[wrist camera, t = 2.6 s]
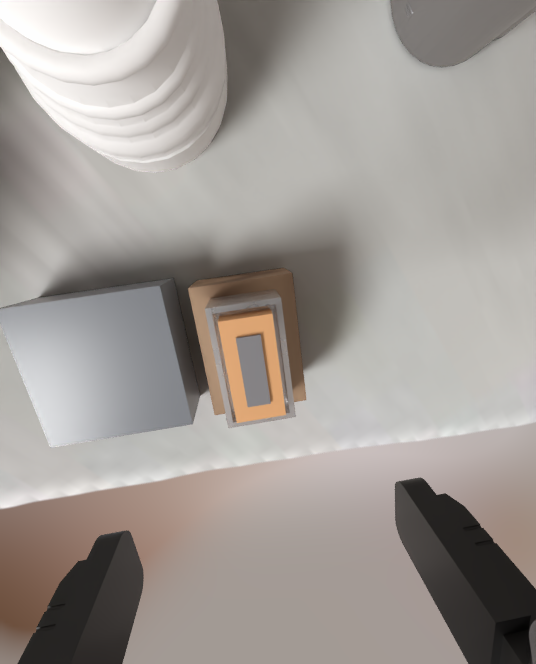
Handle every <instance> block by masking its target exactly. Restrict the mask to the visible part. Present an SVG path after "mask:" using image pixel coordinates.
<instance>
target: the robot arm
mask: <svg viewBox="0 0 536 664" xmlns="http://www.w3.org/2000/svg"><path fill="white" fill-rule="evenodd" d="M391 9H392V17H393V21H394V25H395V28H396V32H397V34H398V36H399V38H400V40H401V42H402V44H403V45H404V46H405V47H406V49H407V50H408V51H409V52H410V54H412V55H413V56H414V57H415V58H417V59H418V60H419V61H421V62H423V63H426V64H428V65H430V66H437V67H447V66H454V65H456V64H459V63H461V62H464V61H466V60H467V59H469V58H470V57H472V56H473V55H475V54H476V53H477V52H479V51H480V50H481V49H482V48H484V47H485V46H486V45H487V44H489V43H490V42H491V41H492V40H494V39H496V38H501V37H503V36H504V35H505V34H506V33H508V32H509V31H510V30H511V29H513V28H514V27H515V26H517V25H518V24H519V23H520V22H522V21H523V20H524V19H525V18H527V17H528V16H529V15H531V14H532V13H533V12H534V11H536V0H391ZM395 520H396V526H397V530H398V533H399V536H400V539H401V541H402V543H403V545H404V547H405V549H406V550H407V552H408V554H409V556H410V558H411V560H412V561H413V563H414V565H415V567H416V569H417V571H418V573H419V574H420V576H421V578H422V580H423V581H424V583H425V585H426V587H427V589H428V591H429V593H430V594H431V596H432V598H433V600H434V602H435V604H436V605H437V607H438V609H439V611H440V613H441V614H442V616H443V618H444V620H445V622H446V623H447V625H448V627H449V629H450V631H451V633H452V635H453V636H454V638H455V640H456V642H457V644H458V646H459V647H460V649H461V651H462V653H463V655H464V656H465V658H466V660H467V662H468V664H536V589H535V588H534V587H533V585H531V583H530V582H529V581H528V580H527V578H526V577H525V576H524V575H523V574H522V573H521V572H520V570H519V569H518V568H517V567H516V566H515V564H514V563H513V562H512V561H511V560H510V559H509V557H508V556H507V555H506V554H505V553H504V552H503V550H502V549H501V548H500V547H499V546H498V545H497V544H496V543H494V542H493V539H492V538H491V537H490V536H489V534H488V533H487V532H486V531H485V530H484V528H481V526H480V524H479V523H478V521H477V520H476V519H475V518H474V517H473V516H472V514H471V513H470V512H469V511H468V510H467V509H466V508H465V507H464V506H463V505H462V504H460V503H459V502H457V501H456V500H454V499H453V498H451V497H450V496H448V495H447V494H440V495H436V494H435V492H434V491H433V490H432V489H431V487H430V486H429V485H428V483H427V482H426V481H425V480H424V479H422V478H415V479H410V480H404V481H399V482H396V484H395ZM142 589H143V568H142V564H141V562H140V559H139V556H138V553H137V550H136V547H135V544H134V541H133V538H132V536H131V533H130V532H129V531H121V532H116V533H111V534H105V535H101V536H99V537H98V538H97V540H96V541H95V543H94V545H93V548H92V550H91V552H90V554H89V556H88V558H87V560H83V561H78V562H77V563H76V565H75V566H74V567H73V568H72V569H71V570H70V572H69V573H68V574H67V575H66V576H65V578H64V579H63V580H62V581H61V582H60V584H59V586H58V588H57V590H56V591H55V593H54V595H53V597H52V599H51V601H50V603H49V605H48V609H47V611H46V612H44V614H43V616H42V618H41V620H40V622H39V624H38V626H37V630H36V633H33V635H32V637H31V639H30V641H29V643H28V645H27V647H26V649H25V651H24V653H23V655H22V656H21V658H20V660H19V662H18V664H122V662H123V659H124V656H125V652H126V648H127V645H128V641H129V637H130V633H131V630H132V626H133V623H134V619H135V616H136V612H137V608H138V605H139V601H140V597H141V593H142Z"/></svg>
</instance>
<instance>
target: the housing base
mask: <svg viewBox="0 0 536 664" xmlns="http://www.w3.org/2000/svg"><path fill="white" fill-rule="evenodd" d="M263 309H271V311H272V314H273V321H274V329H275V336H276V343H277V351H278V358H279V366H280V373H281V381H282V388H283V396H284V403H285V411H286V415H283V416H277V417H271V418H265V419H259V420H253V421H247V422H241V423H237V421H236V416H235V411H234V406H233V400H232V395H231V390H230V385H229V379H228V374H227V369H226V363H225V358H224V353H223V348H222V342H221V337H220V332H219V327H218V319H219V316H224V315H230V314H237V313H243V312H250V311H257V310H263ZM205 313H206V318H207V323H208V328H209V333H210V338H211V343H212V348H213V353H214V358H215V363H216V368H217V373H218V378H219V383H220V388H221V393H222V398H223V403H224V408H225V413H226V418H227V423H228V428H232V427H238V426H244V425H250V424H256V423H262V422H268V421H274V420H280V419H286V418H292V417H296V415H295V407H294V398H293V390H292V382H291V374H290V366H289V358H288V350H287V342H286V334H285V326H284V317H283V309H282V301H281V297H280V295H279V294H278V293H277V291H276V290H275V289H270V290H264V291H257V292H250V293H243V294H237V295H230V296H223V297H217V298H210V300H209V302H208V304H207V305H206V307H205Z"/></svg>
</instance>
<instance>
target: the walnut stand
mask: <svg viewBox="0 0 536 664" xmlns="http://www.w3.org/2000/svg"><path fill="white" fill-rule="evenodd" d="M270 289H275V290H276V291H277V293H278V294H279V295H280V297H281V301H282V309H283V317H284V326H285V334H286V342H287V350H288V358H289V366H290V374H291V382H292V390H293V398H294V402H297V401H303V400H306V392H305V383H304V374H303V365H302V356H301V347H300V338H299V329H298V319H297V310H296V301H295V292H294V283H293V274H292V273H291V272H290V271H288V270H286V269H285V268H279V269H272V270H265V271H258V272H251V273H244V274H237V275H231V276H224V277H217V278H210V279H203V280H197V281H196V282H195V283H193V284H192V285H191V286H190V287H189V288H188V291H189V296H190V301H191V305H192V310H193V315H194V320H195V324H196V329H197V334H198V338H199V343H200V348H201V353H202V357H203V362H204V367H205V371H206V376H207V381H208V386H209V390H210V395H211V400H212V404H213V409H214V414H215V415H219V414H225V408H224V403H223V398H222V393H221V388H220V383H219V378H218V373H217V368H216V363H215V358H214V353H213V348H212V343H211V338H210V333H209V328H208V323H207V318H206V313H205V307H206V305H207V304H208V302H209V300H210V298H217V297H223V296H230V295H237V294H243V293H250V292H257V291H264V290H270Z"/></svg>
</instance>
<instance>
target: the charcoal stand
mask: <svg viewBox="0 0 536 664" xmlns="http://www.w3.org/2000/svg"><path fill="white" fill-rule="evenodd" d="M0 325H1V328H2V330H3V333H4V335H5V338H6V340H7V343H8V345H9V347H10V350H11V352H12V355H13V357H14V360H15V362H16V365H17V367H18V370H19V372H20V374H21V377H22V379H23V382H24V384H25V387H26V389H27V392H28V394H29V396H30V399H31V401H32V404H33V406H34V409H35V411H36V414H37V416H38V419H39V421H40V423H41V426H42V428H43V431H44V433H45V436H46V438H47V441H48V443H49V445H50V448H52V447H58V446H64V445H70V444H76V443H82V442H88V441H94V440H100V439H106V438H112V437H118V436H124V435H130V434H136V433H142V432H148V431H154V430H160V429H166V428H172V427H178V426H184V425H190V424H193V421H194V417H195V413H196V410H197V406H198V402H199V398H200V394H199V389H198V385H197V380H196V376H195V371H194V367H193V362H192V358H191V353H190V349H189V345H188V340H187V336H186V331H185V327H184V322H183V318H182V313H181V309H180V304H179V300H178V295H177V291H176V286H175V282H174V278H171V279H164V280H157V281H150V282H143V283H136V284H129V285H123V286H116V287H109V288H102V289H95V290H88V291H81V292H74V293H67V294H60V295H54V296H47V297H40V298H35V299H32V300H28V301H24V302H21V303H17V304H13V305H10V306H6V307H2V308H0Z"/></svg>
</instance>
